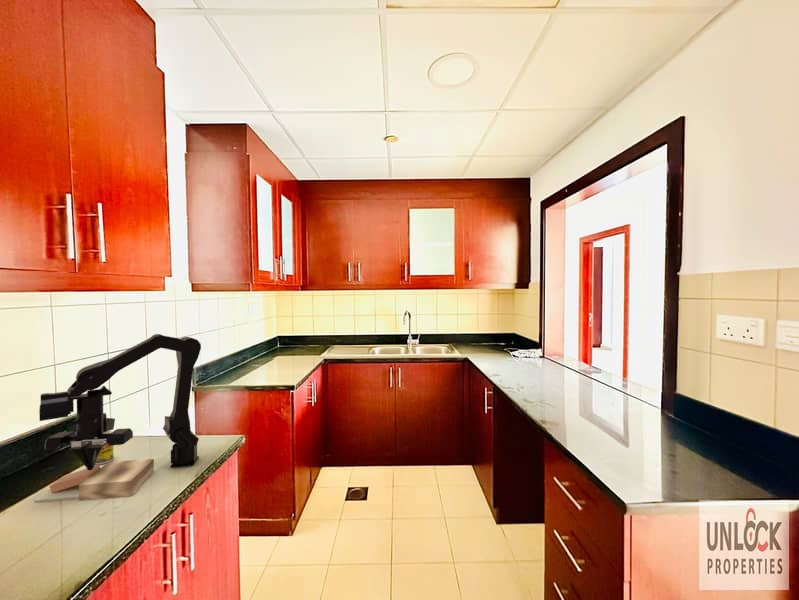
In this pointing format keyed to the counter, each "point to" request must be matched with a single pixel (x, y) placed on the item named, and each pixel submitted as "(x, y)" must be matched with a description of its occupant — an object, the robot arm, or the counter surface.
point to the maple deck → (116, 479)
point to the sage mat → (60, 494)
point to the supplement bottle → (105, 453)
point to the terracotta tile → (73, 479)
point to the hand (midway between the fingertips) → (90, 469)
